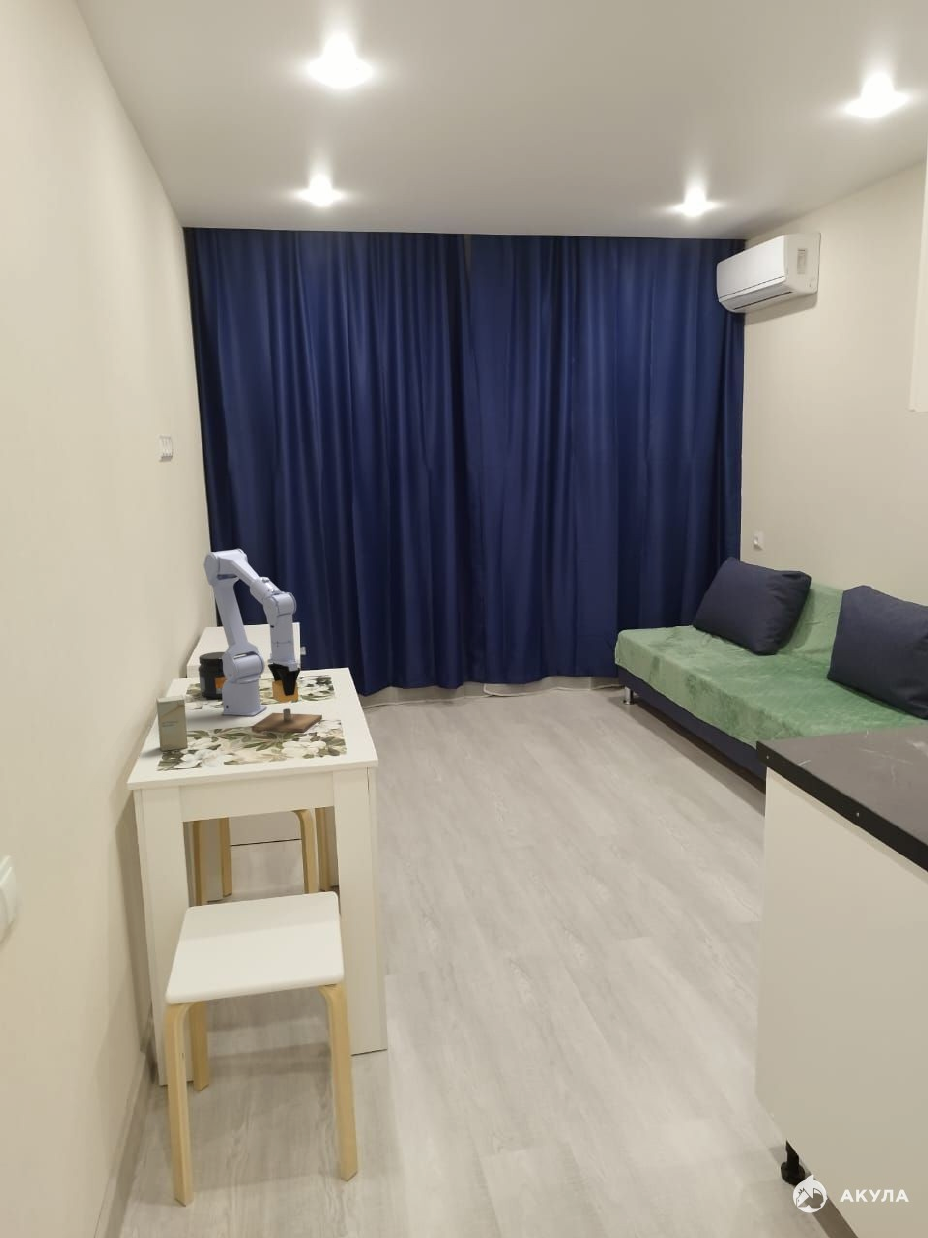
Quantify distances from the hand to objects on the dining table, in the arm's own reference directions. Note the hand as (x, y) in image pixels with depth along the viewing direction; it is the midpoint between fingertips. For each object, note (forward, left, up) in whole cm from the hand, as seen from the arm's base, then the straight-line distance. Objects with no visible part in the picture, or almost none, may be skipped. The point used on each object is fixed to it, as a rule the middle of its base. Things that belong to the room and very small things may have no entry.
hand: (285, 692), depth 230 cm
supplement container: (-32, +23, -9) cm, 40 cm away
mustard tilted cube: (0, 0, -2) cm, 2 cm away
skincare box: (-20, -21, -9) cm, 30 cm away
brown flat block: (0, 0, -8) cm, 8 cm away
